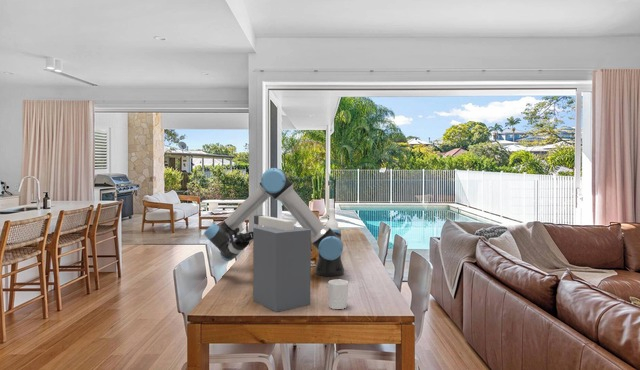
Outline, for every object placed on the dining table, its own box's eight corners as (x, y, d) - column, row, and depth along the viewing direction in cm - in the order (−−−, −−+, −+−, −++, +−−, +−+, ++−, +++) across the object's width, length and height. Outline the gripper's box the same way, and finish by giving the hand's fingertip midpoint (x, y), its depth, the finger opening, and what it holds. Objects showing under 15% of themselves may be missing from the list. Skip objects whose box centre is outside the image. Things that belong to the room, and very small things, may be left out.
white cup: (326, 304, 171) (327, 279, 171) (346, 303, 172) (346, 279, 171) (329, 310, 163) (329, 284, 163) (349, 310, 164) (349, 284, 164)
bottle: (340, 256, 266) (340, 208, 265) (329, 257, 262) (330, 208, 261) (333, 254, 273) (333, 207, 272) (322, 255, 269) (323, 207, 268)
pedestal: (253, 300, 175) (253, 227, 174) (286, 293, 185) (286, 224, 184) (275, 312, 161) (276, 233, 160) (310, 304, 170) (310, 229, 169)
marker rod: (254, 223, 187) (254, 215, 186) (261, 223, 189) (261, 215, 189) (285, 230, 166) (286, 221, 166) (293, 230, 168) (293, 221, 168)
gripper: (263, 247, 208) (283, 230, 193) (215, 253, 193) (232, 235, 178) (260, 233, 211) (279, 215, 196) (212, 238, 196) (228, 218, 181)
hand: (257, 224), depth 187 cm, fingers open, 13 cm apart
